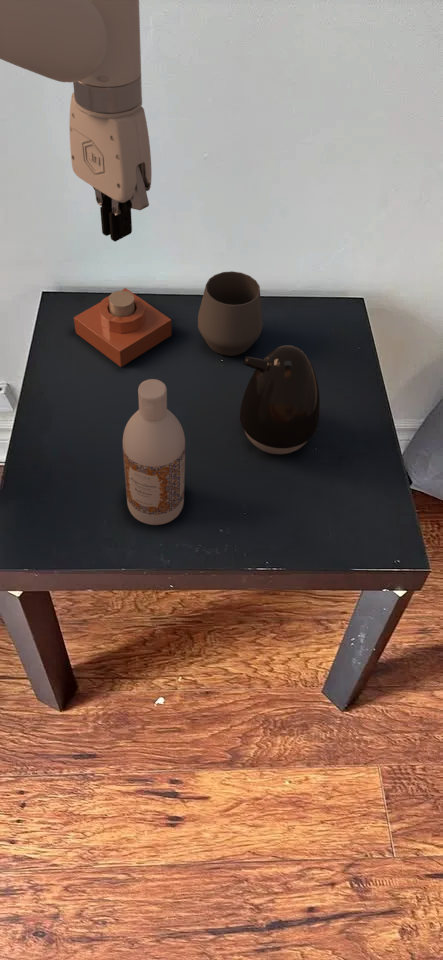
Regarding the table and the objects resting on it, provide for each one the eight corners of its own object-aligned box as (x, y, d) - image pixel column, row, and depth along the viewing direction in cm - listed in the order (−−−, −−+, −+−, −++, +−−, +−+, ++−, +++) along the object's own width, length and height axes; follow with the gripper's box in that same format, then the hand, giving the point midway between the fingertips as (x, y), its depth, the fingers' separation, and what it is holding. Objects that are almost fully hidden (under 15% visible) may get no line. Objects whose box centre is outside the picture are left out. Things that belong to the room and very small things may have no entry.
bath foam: (117, 516, 91) (106, 400, 75) (141, 474, 95) (135, 357, 79) (170, 534, 90) (170, 421, 74) (192, 492, 94) (196, 376, 78)
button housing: (120, 367, 107) (119, 340, 103) (75, 333, 111) (72, 306, 107) (171, 335, 111) (171, 308, 108) (126, 303, 115) (124, 276, 111)
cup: (185, 349, 110) (186, 294, 102) (216, 314, 115) (219, 259, 107) (242, 373, 107) (247, 318, 99) (271, 336, 112) (278, 281, 105)
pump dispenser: (232, 410, 103) (240, 324, 91) (306, 407, 104) (324, 321, 92) (240, 468, 96) (250, 383, 84) (320, 464, 97) (340, 380, 86)
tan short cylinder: (121, 321, 106) (120, 310, 104) (104, 309, 107) (103, 297, 106) (139, 310, 108) (139, 298, 106) (123, 298, 109) (122, 287, 107)
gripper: (37, 75, 84) (57, 219, 99) (129, 126, 78) (135, 272, 93) (89, 56, 88) (100, 199, 103) (180, 104, 82) (178, 248, 96)
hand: (117, 233), depth 98 cm, fingers closed
